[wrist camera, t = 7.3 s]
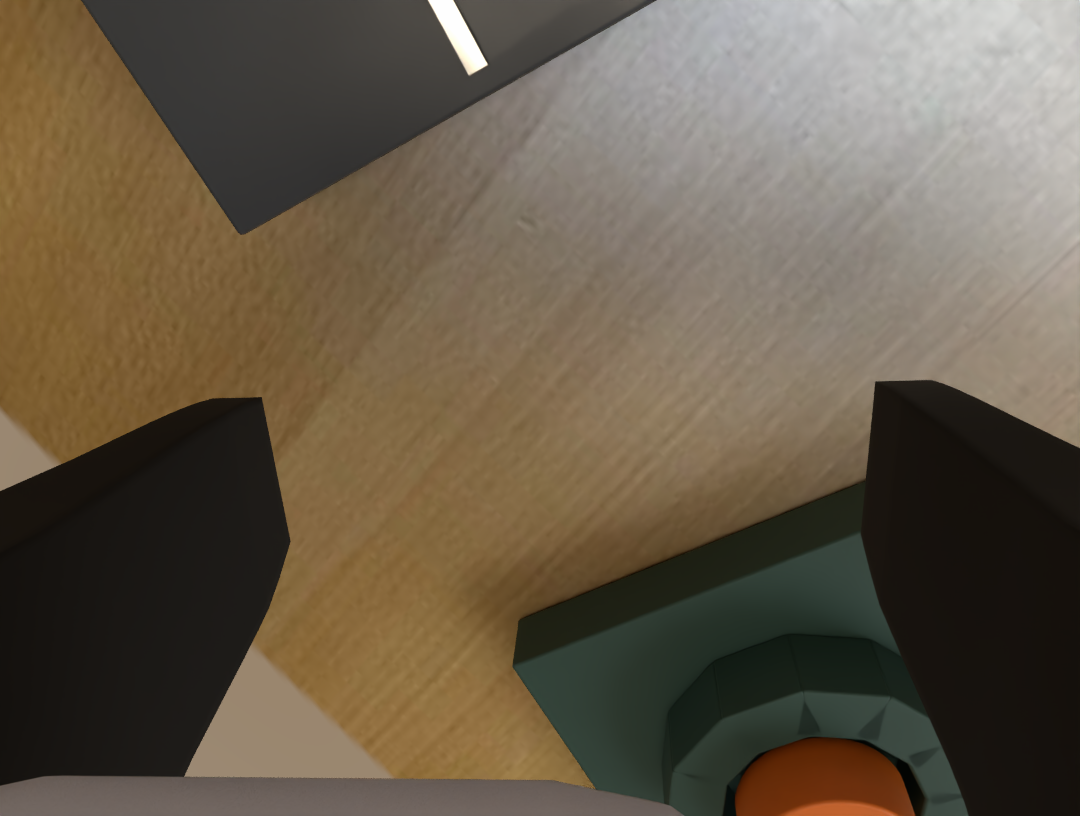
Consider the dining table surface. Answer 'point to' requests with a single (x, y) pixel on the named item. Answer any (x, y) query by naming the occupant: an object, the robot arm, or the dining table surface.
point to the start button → (822, 782)
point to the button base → (733, 666)
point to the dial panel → (326, 78)
